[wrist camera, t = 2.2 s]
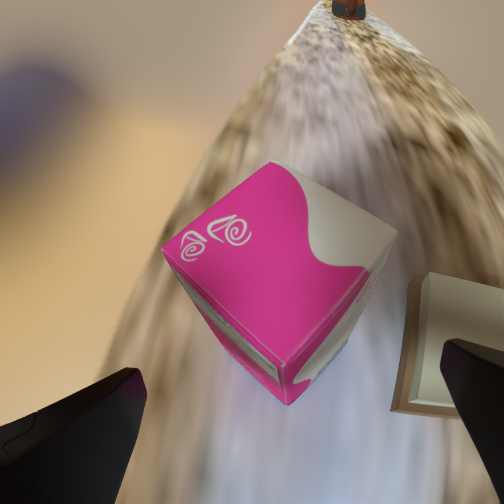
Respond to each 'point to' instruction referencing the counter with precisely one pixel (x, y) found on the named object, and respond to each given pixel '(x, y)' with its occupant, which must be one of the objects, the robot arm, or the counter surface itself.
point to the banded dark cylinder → (349, 9)
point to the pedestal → (442, 338)
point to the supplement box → (281, 274)
